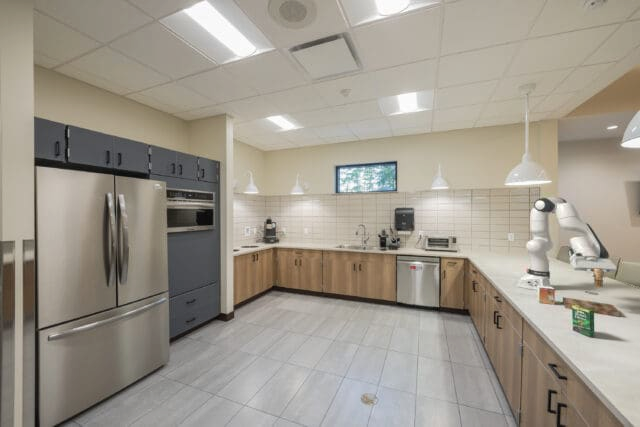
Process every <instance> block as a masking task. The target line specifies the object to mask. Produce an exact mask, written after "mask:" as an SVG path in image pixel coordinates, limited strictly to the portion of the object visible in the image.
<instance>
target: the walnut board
mask: <svg viewBox="0 0 640 427" xmlns="http://www.w3.org/2000/svg"><path fill="white" fill-rule="evenodd" d="M562 304H563V306H564V308H565V309H568V310H569V309H570V310H572V305H578V306H581V307H584V308H588V309H591V310H594V314H599V315H604V316H610V317H615V318H619V317H620V310H618V309H617V308H616V307H615V305H614V304H612V303H611V304H609V303H602V302H596V301H590V300H583V299H576V298H571V297H570V298H569V297H564V296H563V297H562Z"/></svg>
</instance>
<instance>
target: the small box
mask: <svg viewBox="0 0 640 427" xmlns="http://www.w3.org/2000/svg"><path fill="white" fill-rule="evenodd" d="M555 291H556V289H555V288H554V287H552V286H551V287H548V286H539V285H537V290H536V301H537V303H538V304H545V305H552V306H555V305H556V304H555V303H556V302H555V301H556V299H555V296H556V294H555V293H556V292H555Z"/></svg>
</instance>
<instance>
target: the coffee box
mask: <svg viewBox="0 0 640 427" xmlns="http://www.w3.org/2000/svg"><path fill="white" fill-rule="evenodd" d="M571 311H572V312H571V314H572V320H571V321H572V331H574V332H576V333H579V334H581V335H584V336H586V337H588V338H595V313H594V310H591V309H588V308H584V307H581V306H578V305H572V309H571Z"/></svg>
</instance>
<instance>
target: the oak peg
mask: <svg viewBox="0 0 640 427" xmlns="http://www.w3.org/2000/svg"><path fill="white" fill-rule="evenodd" d="M593 273H595V275H596V276H595V277H594V278H593V285H594V286H595V287H598V288H599V287H602V288H603V287H604V286H603V285H604V277H603V270H602V269H594V271H593Z"/></svg>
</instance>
